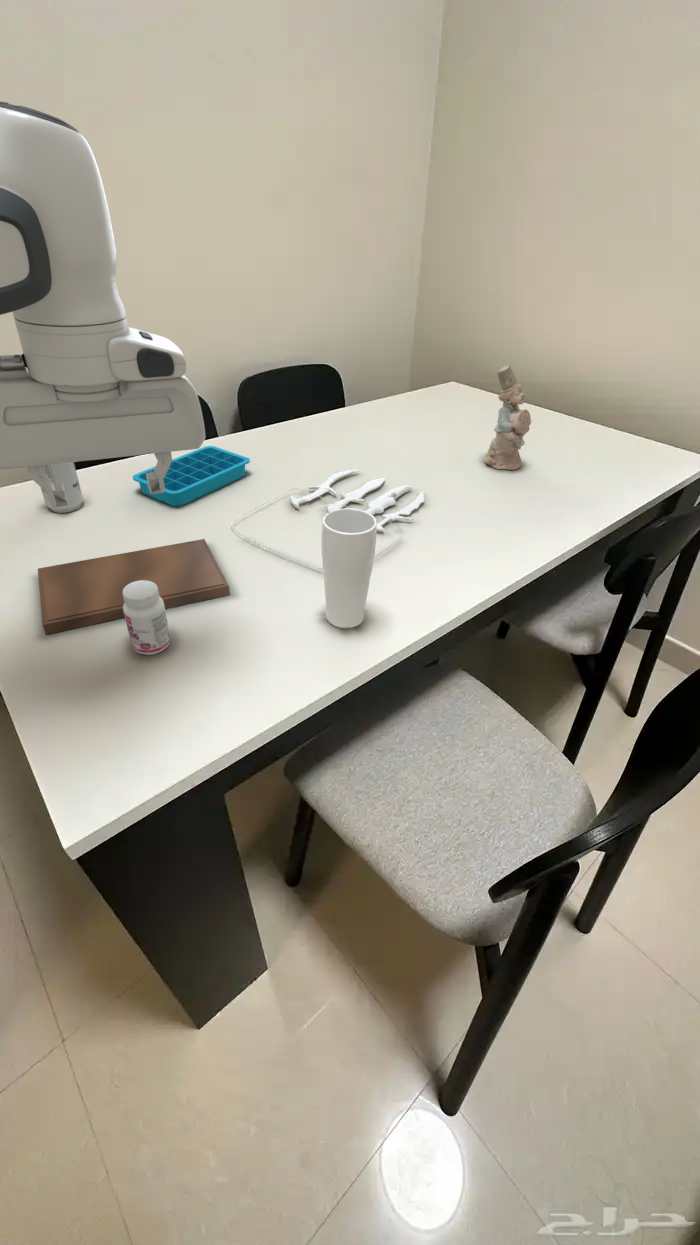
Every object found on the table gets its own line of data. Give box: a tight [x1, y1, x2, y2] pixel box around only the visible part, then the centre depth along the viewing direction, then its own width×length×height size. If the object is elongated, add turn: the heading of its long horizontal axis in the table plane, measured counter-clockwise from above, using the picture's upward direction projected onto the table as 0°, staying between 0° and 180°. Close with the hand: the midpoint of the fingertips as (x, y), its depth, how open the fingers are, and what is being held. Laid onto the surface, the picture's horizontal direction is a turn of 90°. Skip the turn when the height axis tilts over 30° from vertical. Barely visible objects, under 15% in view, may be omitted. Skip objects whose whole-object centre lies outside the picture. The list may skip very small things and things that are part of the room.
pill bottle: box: [123, 580, 171, 656], centre depth 71 cm, size 5×5×8 cm
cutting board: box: [37, 538, 231, 635], centre depth 83 cm, size 24×14×2 cm, turn 115°
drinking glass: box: [320, 507, 378, 629], centre depth 75 cm, size 7×7×15 cm
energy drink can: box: [40, 462, 84, 514], centre depth 96 cm, size 6×6×15 cm
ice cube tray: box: [132, 445, 251, 507], centre depth 110 cm, size 12×20×3 cm, turn 146°
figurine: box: [483, 364, 533, 471], centre depth 119 cm, size 9×8×20 cm
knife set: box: [230, 469, 425, 571], centre depth 102 cm, size 26×35×1 cm
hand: (109, 497), depth 59 cm, fingers open, 8 cm apart
